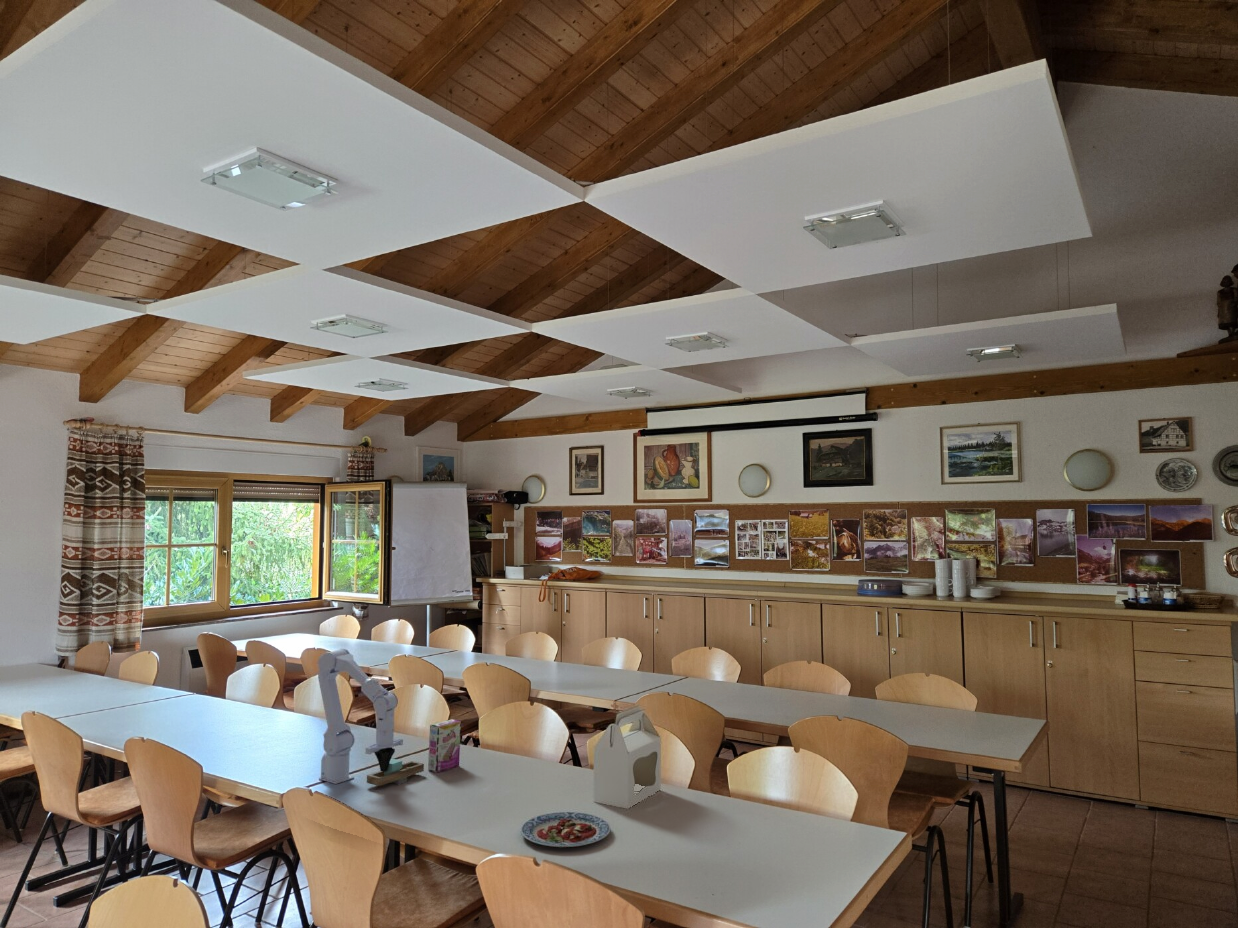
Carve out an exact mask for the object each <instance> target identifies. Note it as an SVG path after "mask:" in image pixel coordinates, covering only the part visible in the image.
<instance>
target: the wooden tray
mask: <svg viewBox="0 0 1238 928" xmlns="http://www.w3.org/2000/svg"><path fill="white" fill-rule="evenodd" d="M424 770H425V764H424V763H422V762H418V761H414V760H411V761H408V762H405V763H402V768H401V769H400V771H397V772H394V773H391V774H388V775H385V776H384V772H383V771H380V770H379V771H377V772H373V773H370V774H366V784H368V785H369V784H370V785H374V786H376V787H380V786H384V785H386V784H389V783H392V784H395V785H401V784H404V783H407V782H408V777H410V776H413V775H416V774H419V773H422V772H424Z"/></svg>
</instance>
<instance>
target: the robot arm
mask: <svg viewBox="0 0 1238 928" xmlns="http://www.w3.org/2000/svg"><path fill="white" fill-rule="evenodd" d="M317 664H318V674H317V678H318V684H319V688H320V694H321V698H322V700H321V701H322V704H323V709H324V714H325V718H326V724H327V728H326V730H325V731H324V733H323V744H322V745H323V750H324V754H323V755H322V757H321V761H320V762H321V764H320V776H319V777H318V779H319V780H321V781H325V782H328V783H330V784H331V783H332V784H335V785H336V784H339V783H344V782H347V781H349V780H352V779H355V776H353V775H350V752H351V749H352V748H353V746H354V744H355V740H356V739H355V735H354V734H353V732H352V729H351V726H350V725H349V724H347V723H345V719H344V715H343V709H342V704H341V699H340V693H339V690H338V686H337V680H336V679H337V676H338V675H339V674H340V672H345V673H347V674H348V675H349V676H350V677H351V678H352V679H354V680H355V682H357V683H358V684H359V685H360V686H361V690H360V691H361V692H362V694H364V695H365V696H366V697H367V698H368V699H369V700H370V701H371V702H372V705H373V709H374V711H375V716H376V730H375V731H376V732H375V733H376V735H375V736H376V737H375V743H373V744H372V745H369V746H367V747H365V754H366V755H372V754H374V755H375V757H376V759H377V761H378V764H379V765H378V766H379V771H383V772H386V771H387V770H388V766H389V763H390V760H391V759H393V758H392V757H393V755H394V753H395V752H396V749H395V747H398V746H403V745H404V739H403V738H400V737H399V738H396V739H395V738H394V735H395V734H394V731H395V709H396V708H397V706H398V704H399V699H398V697H397V695H396V694H395V693H394V692H391V691H388V689H385V687H384V686H382V685H381V683H380V681H379V680H378V679H377V678H376V679H375V678H374V677H373V678H370V677H369V676H368V675H367V674H366V673H365V671H363V669H362V668H361V666H360V665H359V664H358V663H357V662H356V661H355V659H354V655H353V654H352V653H351V652H350V651H348V649H346V648H340V649H337V650H332V651H326V652H323V653H322V654H321V655H320V657H319V658H318V660H317Z"/></svg>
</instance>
